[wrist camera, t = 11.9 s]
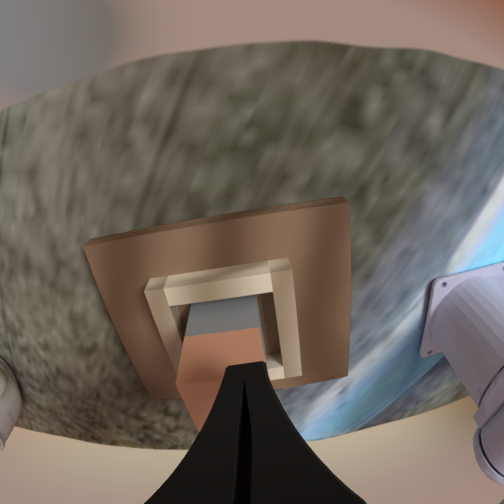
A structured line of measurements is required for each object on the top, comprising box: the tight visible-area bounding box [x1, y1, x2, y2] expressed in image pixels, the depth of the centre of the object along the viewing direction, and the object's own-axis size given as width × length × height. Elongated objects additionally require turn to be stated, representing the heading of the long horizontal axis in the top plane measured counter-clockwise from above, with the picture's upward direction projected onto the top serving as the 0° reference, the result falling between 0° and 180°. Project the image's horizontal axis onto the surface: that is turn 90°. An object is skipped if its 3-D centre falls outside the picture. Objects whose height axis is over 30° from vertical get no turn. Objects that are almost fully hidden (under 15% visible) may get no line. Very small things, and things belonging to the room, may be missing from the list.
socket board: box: [83, 197, 351, 400], centre depth 20 cm, size 16×14×3 cm
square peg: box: [176, 294, 268, 432], centre depth 17 cm, size 4×4×7 cm
